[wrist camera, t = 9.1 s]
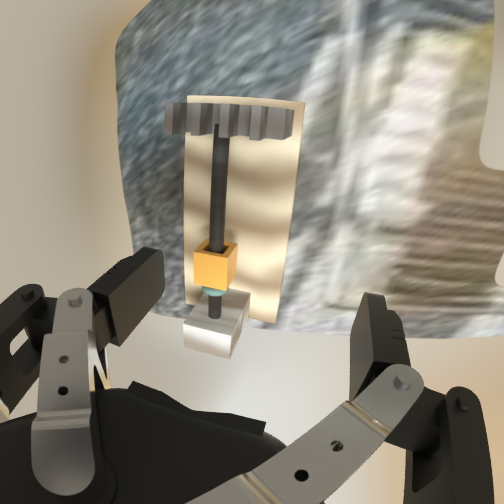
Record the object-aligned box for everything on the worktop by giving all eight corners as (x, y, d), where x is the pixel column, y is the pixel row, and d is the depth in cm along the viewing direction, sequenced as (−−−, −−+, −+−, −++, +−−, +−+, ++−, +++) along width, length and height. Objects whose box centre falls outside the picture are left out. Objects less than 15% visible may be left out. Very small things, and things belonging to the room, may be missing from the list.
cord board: (192, 96, 35) (142, 93, 25) (305, 103, 32) (294, 97, 22) (189, 298, 48) (155, 344, 38) (277, 317, 46) (260, 372, 36)
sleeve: (206, 238, 36) (193, 251, 32) (238, 243, 35) (227, 258, 32) (206, 268, 38) (193, 283, 34) (236, 274, 37) (226, 290, 34)
